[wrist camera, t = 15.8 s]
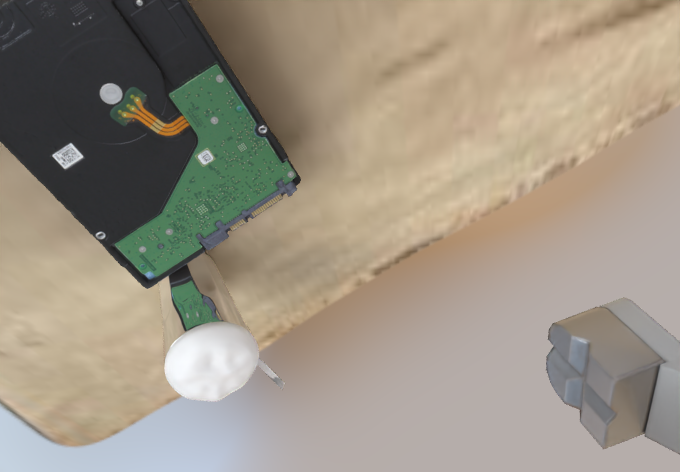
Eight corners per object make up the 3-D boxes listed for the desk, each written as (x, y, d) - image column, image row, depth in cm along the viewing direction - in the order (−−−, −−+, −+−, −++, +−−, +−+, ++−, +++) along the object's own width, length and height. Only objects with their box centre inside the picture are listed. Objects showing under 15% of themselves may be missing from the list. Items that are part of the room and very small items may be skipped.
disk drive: (-75, 44, 27) (143, 266, 36) (-87, 62, 25) (148, 295, 34) (128, -91, 28) (296, 164, 36) (134, -84, 25) (311, 185, 34)
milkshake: (230, 303, 40) (273, 421, 32) (141, 302, 38) (163, 429, 30) (245, 239, 38) (295, 349, 30) (151, 234, 36) (178, 352, 28)
